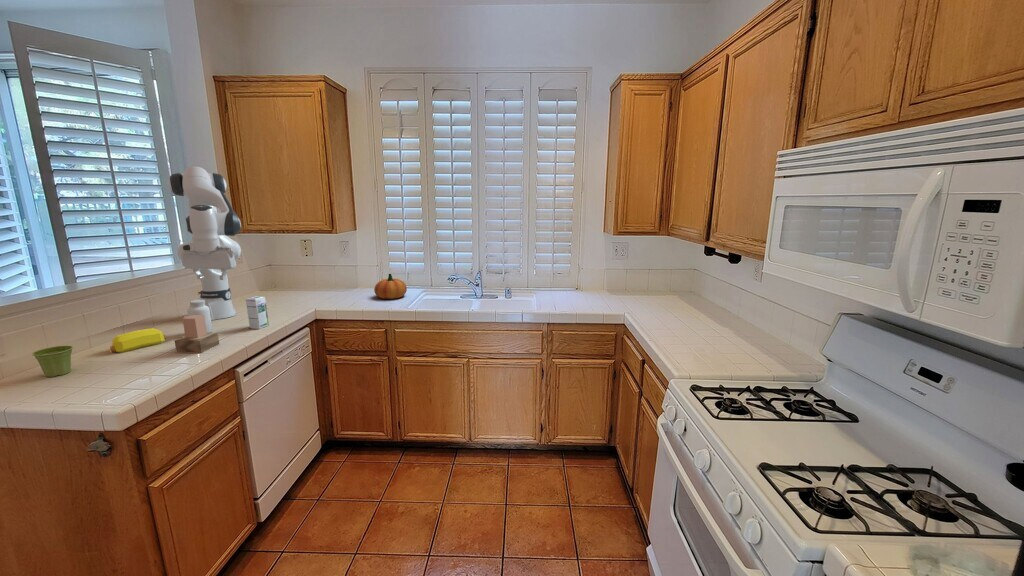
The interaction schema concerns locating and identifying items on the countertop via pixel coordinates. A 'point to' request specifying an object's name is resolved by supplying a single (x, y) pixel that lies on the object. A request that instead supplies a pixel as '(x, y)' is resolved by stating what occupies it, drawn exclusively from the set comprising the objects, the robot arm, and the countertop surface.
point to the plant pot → (54, 360)
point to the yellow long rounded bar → (137, 340)
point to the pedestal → (196, 343)
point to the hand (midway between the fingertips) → (211, 279)
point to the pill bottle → (201, 312)
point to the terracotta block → (194, 326)
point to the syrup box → (257, 312)
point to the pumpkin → (390, 288)
